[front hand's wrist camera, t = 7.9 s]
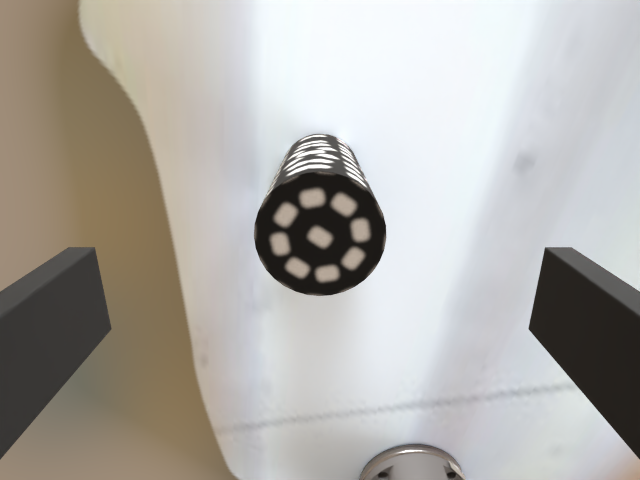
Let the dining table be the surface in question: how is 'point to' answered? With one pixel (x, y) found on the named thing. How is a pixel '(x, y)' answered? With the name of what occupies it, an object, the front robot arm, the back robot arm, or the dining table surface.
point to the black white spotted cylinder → (320, 220)
